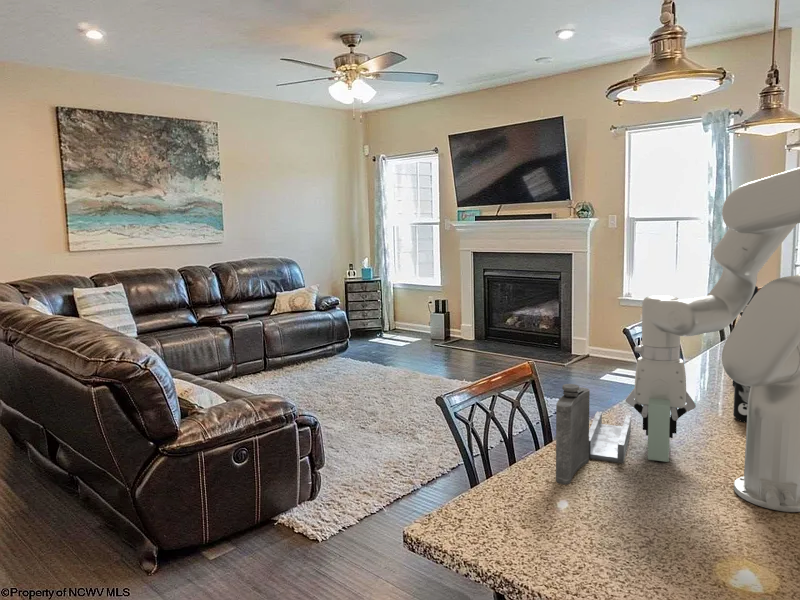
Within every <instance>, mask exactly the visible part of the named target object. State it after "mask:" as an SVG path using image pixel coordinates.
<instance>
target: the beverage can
mask: <svg viewBox="0 0 800 600" xmlns="http://www.w3.org/2000/svg"><path fill="white" fill-rule="evenodd" d="M750 388H751V387H750V386H744V385H741V384H739V383H737V382H735V386H734V391H733V393H734V395H733V417H735V419H736V420H738V421H739V422H743V423H746V424H747V410H748V398H749V392H750Z"/></svg>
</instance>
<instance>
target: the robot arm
mask: <svg viewBox="0 0 800 600" xmlns="http://www.w3.org/2000/svg"><path fill="white" fill-rule="evenodd" d="M721 214H722V220H723V222H724V225H725V226H726V227H727V228H728V229H727V231H725V233H724V235H723V236H722V238H721V239H720V241H719V242H718V243H717V244H716V246H715V247H714V249H713V253H712V255H713V258H714V259H715V261H716V263H718V264H719V266H720V267H722V269H723V270H722V273H721V275H720V278H719V279H718V281H717V282H716V284H715V285H714V286H713V288H712V289H711V290H710V291H709V292H708V293H707V295H704V296H697V297H691V298H690V297H689V298H682V299H679V298H678V297H677V296H674V295H673V296H672V295H665V294H664V295H663V294H662V295H661V294H659V295H657V294H656V295H649V296H647V297H644V298H643V301H642V304H641V305H642V307H641V308H642V310H641V311H642V312H641V344H640V345H638V346H634V353H638V354H640V356H639V357H638V358H637V362H636V367H635V375H634V388H633V389H632V390H631V392H630V393H629V394H628V395H627V397H626V398H625V403H627V404H628V405H630V406H631V407H632V408H634V409H635V410H636V412H638V414H640V416H641V417H642V431H645V436H647V437H648V403H649V399H661V400H670V429H669V437H670V439H673V437H674V434H677V426H678V425H677V423H678V422H677V421H678V420H679V418H681V417H682V416H684V415H685V414H686V413H687V412H690V411H692V410H695V409H696V407H697V406H696V403H695V401H694V400H693V399H692V397H691V396H690V395H689V393H688V391H687V377H686V375H687V374H686V368H685V361H684V360H683V359H682V358H681V337H684V338H685V337H693V336H699V335H704V334H709V333H713V332H719V331H722V330H724V329H726V328H727V327H728V326H729V325H731V324H732V323H733V322H734V321H735V320H736V319H737V317H738V316H739V315H740V317H739V319H738V321H737V322H736V324H735V326H734V327H733V329H732V330H731V332H730V334H729V336H728V337H727V338H726V340H725V342H724V344H723V348H722V351H721V362H722V367H723V369H724V371H725V373H726V374H727V376H728V378H730V379H731V380H732V381H733V380H734V381H735V382H737V383H739V384H741V385H744V386H750V387H751V388H750V392H749V398H748V410H747V423H746V430H745V433H746V434H745V449H744V450H745V451H744V452H745V453H744V470H743V476H740V477H738V478H735V480H734V482H733V490H734V492H735V493H736V494H737V496H738V497H740V498H741V499H743V500H744V501H746V502H748V503H751V504H753V505H755V506H759V507H762V508H766V509H769V510H772V511H780V512H785V513H786V512H787V513H800V272H799V273H797V274H796V275H790V276H789V275H788V276H783V277H778V278H776V279H773V280H771V281H769V282H768V283H766V284H765V285H764V286H762V287H761V288H760V289H758V292H757V293H756V294H755V295H754V297H753V298H752V296H753V293H754V290H755V286H756V285H757V281H758V274H759V272H760V271H762V270H761V269H762V268H763V267H764V266H765V265H766V264H767V262H768V260H769V259H770V258H771V257H772V256H773V255H774V253H775V252H776V251H777V250H778V248H779V247H780V245H781V244H782V243H783V242H784V241H785V240H786V239H787V237H788V236H789V234H790V233H791V232H792V231H793V229H794V228H795V227H796V226H797V224H800V167H797V168H796V167H795V168H792V169H790V170H787V171H783V172H780V173H778V174H777V173H776V174H774V175H773V174H772V175H771V176H766V177H764V178H761V179H756V180H753V181H749V182H746V183H744V184H742V185H740V186H738V187H736V188H735V189H733V190H732V192H730V193H729V195H728V196H727V197H726V199H725V201H724V203H723V205H722V209H721ZM751 298H752V300H751V301H750V299H751ZM749 301H750V303H749ZM748 303H749V304H748ZM747 304H748V305H747ZM745 306H747V308H746V309H745V311H744V312H743V311H742V310H743V309H744V308H745ZM741 312H743V314H742V316H741Z"/></svg>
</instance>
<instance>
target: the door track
mask: <svg viewBox="0 0 800 600" xmlns="http://www.w3.org/2000/svg"><path fill="white" fill-rule="evenodd" d="M602 422H603V411H596V413H595V415H594V417H593V419H592V423H591V424H590V425H589V460H590V459H591V460H597V461H604V462H611V463H619V464H624V463H625V459H626V454H627V450H628V446H629V440H630V436H631V432H632V415H630V414H626V415H625V417H624V421H623V424H622V425H615V424H607V423H605V424H604V423H602Z"/></svg>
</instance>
